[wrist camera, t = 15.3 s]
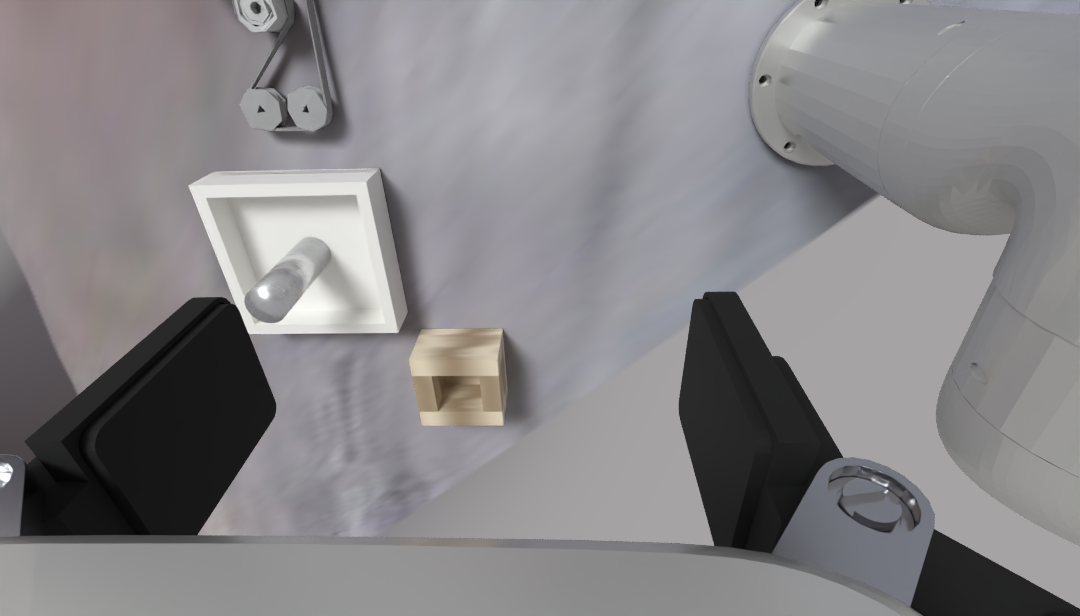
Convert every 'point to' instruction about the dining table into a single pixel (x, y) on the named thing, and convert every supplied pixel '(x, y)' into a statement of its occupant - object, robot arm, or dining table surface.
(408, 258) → the dining table surface
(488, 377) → the tan hollow square block
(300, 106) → the pulley system
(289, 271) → the pin
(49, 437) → the robot arm
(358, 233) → the tray
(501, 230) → the dining table surface
